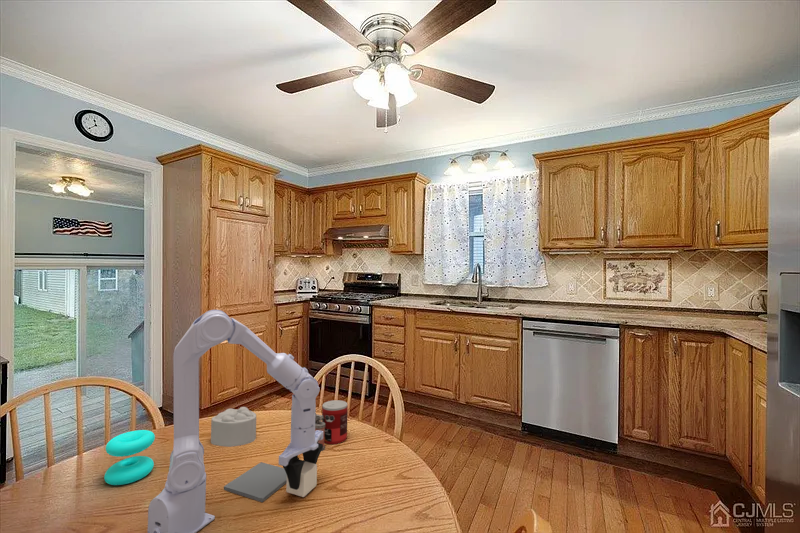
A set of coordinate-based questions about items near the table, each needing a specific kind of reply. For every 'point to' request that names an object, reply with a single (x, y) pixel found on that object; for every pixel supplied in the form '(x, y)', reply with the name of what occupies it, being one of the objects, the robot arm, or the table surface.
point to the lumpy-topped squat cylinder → (233, 427)
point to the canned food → (335, 421)
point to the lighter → (320, 427)
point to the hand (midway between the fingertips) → (301, 481)
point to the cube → (305, 480)
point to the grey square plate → (258, 482)
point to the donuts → (131, 466)
